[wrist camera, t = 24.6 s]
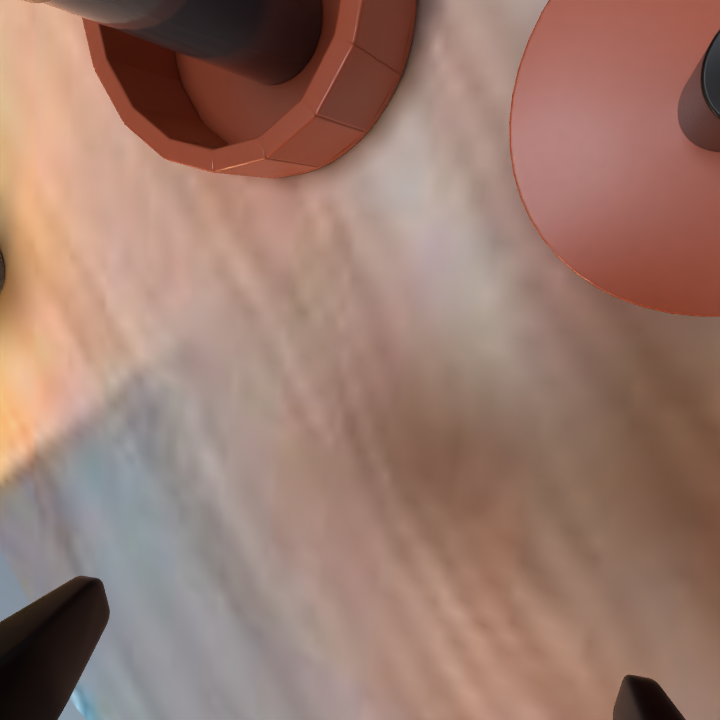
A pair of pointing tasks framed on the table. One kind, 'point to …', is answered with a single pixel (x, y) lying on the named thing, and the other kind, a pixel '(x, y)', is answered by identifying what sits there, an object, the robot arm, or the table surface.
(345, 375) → the table surface
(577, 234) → the lid
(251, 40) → the spice jar
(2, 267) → the beverage cup
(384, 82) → the pot
